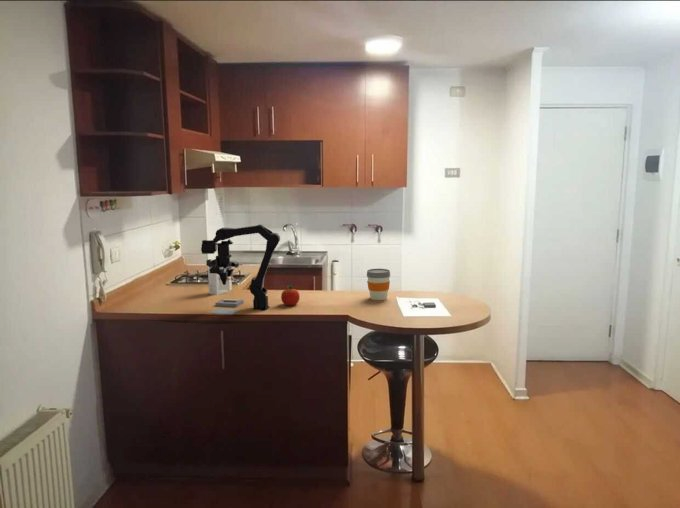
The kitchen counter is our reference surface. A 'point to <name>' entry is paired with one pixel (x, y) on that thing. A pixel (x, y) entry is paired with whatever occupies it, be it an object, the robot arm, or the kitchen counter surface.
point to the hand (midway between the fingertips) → (225, 284)
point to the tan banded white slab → (225, 284)
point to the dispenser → (229, 303)
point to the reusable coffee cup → (378, 283)
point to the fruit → (290, 296)
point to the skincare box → (214, 284)
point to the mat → (224, 311)
